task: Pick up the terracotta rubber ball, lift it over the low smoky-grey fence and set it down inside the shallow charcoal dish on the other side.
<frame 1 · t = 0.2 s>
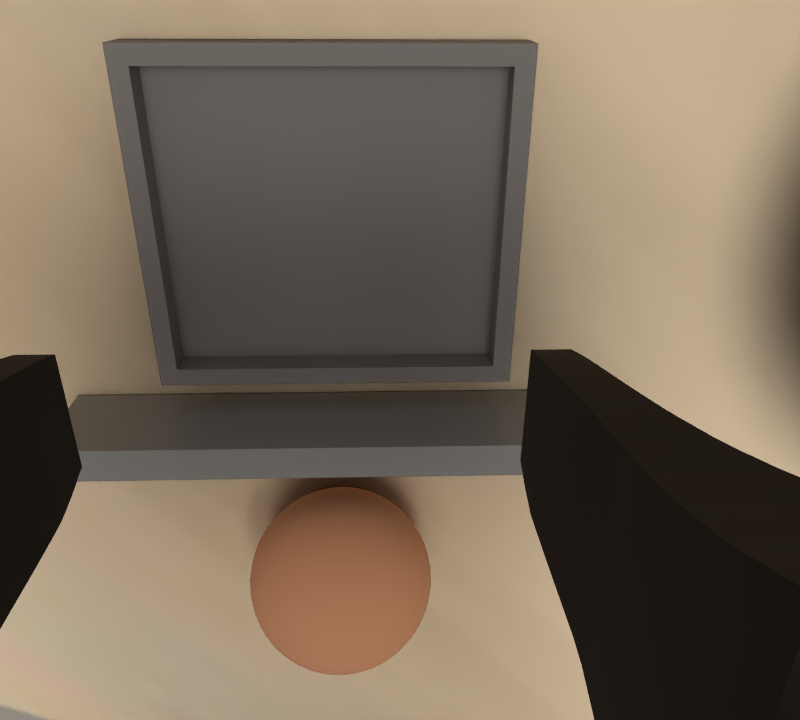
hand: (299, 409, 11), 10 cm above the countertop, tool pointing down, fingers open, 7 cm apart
charcoal dish: (332, 218, 20), on the countertop
ball: (341, 577, 22), point 3 cm above the countertop
low fence: (340, 406, 22), on the countertop
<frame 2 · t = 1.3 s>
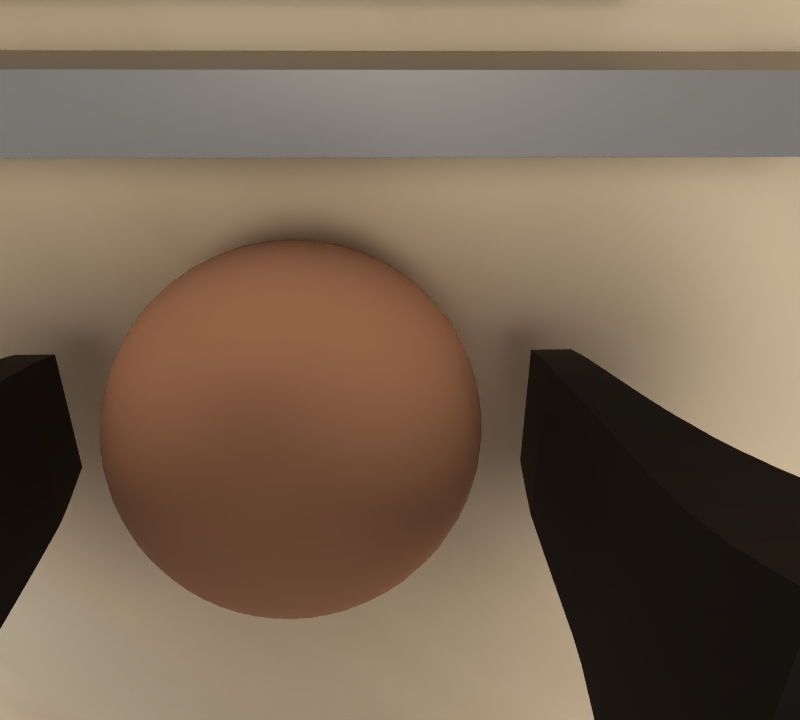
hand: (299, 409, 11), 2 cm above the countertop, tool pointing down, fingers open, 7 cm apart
ball: (297, 424, 11), point 3 cm above the countertop
low fence: (297, 85, 11), on the countertop
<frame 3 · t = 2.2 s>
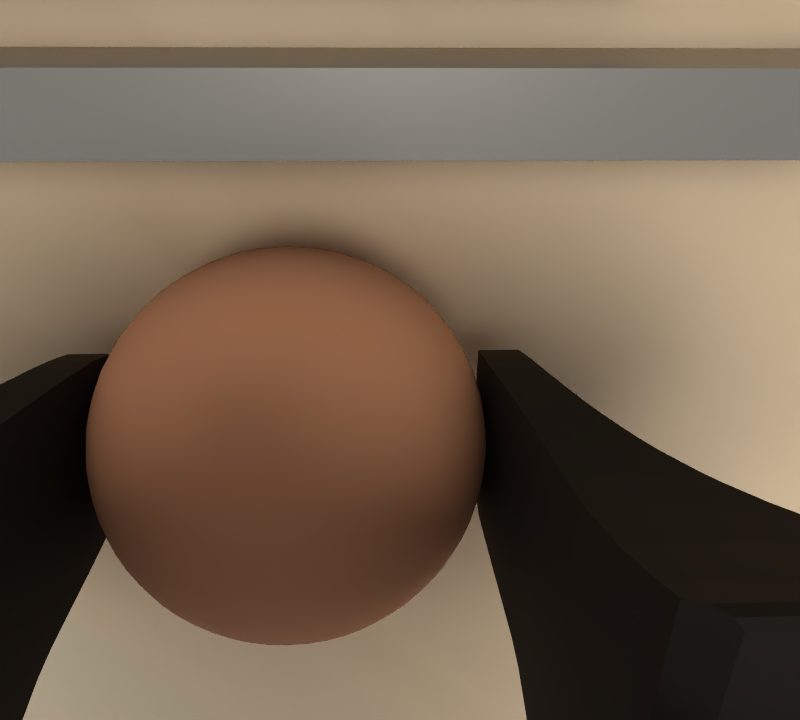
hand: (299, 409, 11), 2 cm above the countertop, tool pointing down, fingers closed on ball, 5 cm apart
ball: (293, 439, 10), point 3 cm above the countertop, touching gripper
low fence: (293, 84, 11), on the countertop
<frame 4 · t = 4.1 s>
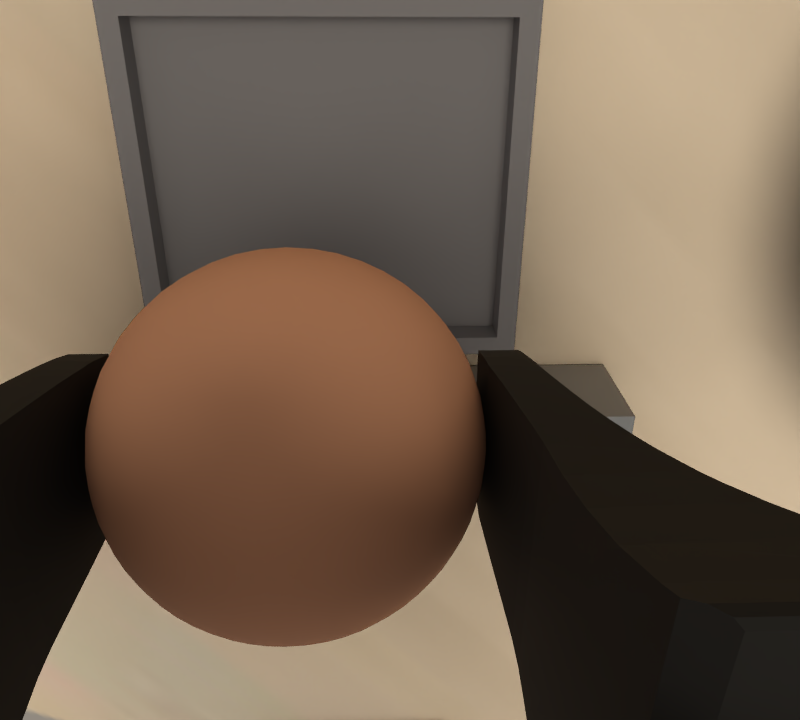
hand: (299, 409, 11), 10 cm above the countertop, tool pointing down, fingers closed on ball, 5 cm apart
charcoal dish: (330, 182, 19), on the countertop
ball: (293, 440, 10), point 10 cm above the countertop, touching gripper
low fence: (338, 381, 22), on the countertop
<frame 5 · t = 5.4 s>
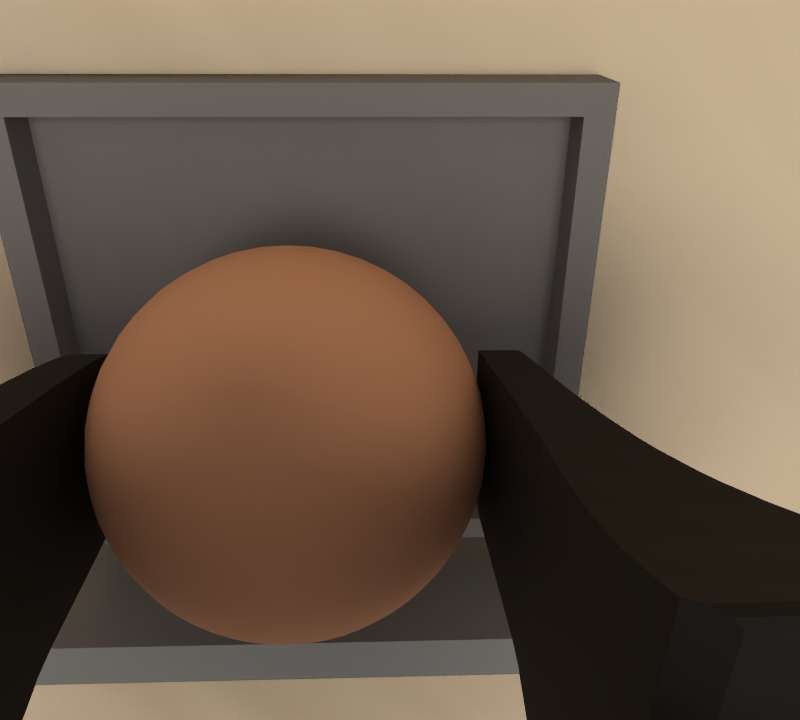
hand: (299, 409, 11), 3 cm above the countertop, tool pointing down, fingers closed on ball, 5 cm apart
charcoal dish: (315, 320, 14), on the countertop
ball: (293, 439, 10), point 4 cm above the countertop, touching gripper
low fence: (328, 554, 17), on the countertop
when the fingers open (3 cm above the countertop, at t = 6.4 s): ball moves 1 cm, resting on charcoal dish.
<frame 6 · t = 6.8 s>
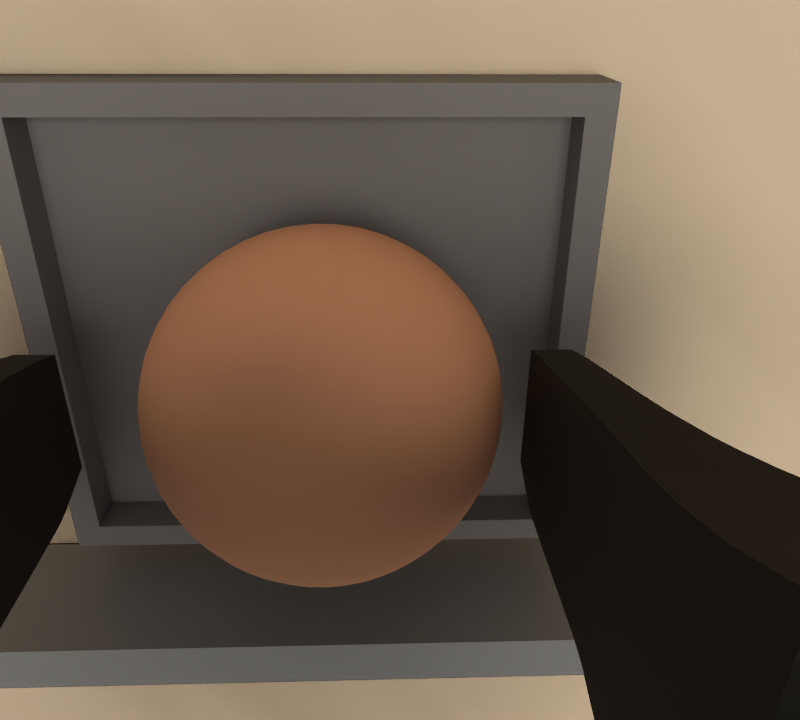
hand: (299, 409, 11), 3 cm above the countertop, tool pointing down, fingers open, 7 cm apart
charcoal dish: (315, 321, 14), on the countertop
ball: (324, 402, 11), point 3 cm above the countertop, tilted 9°, touching charcoal dish
low fence: (328, 556, 17), on the countertop
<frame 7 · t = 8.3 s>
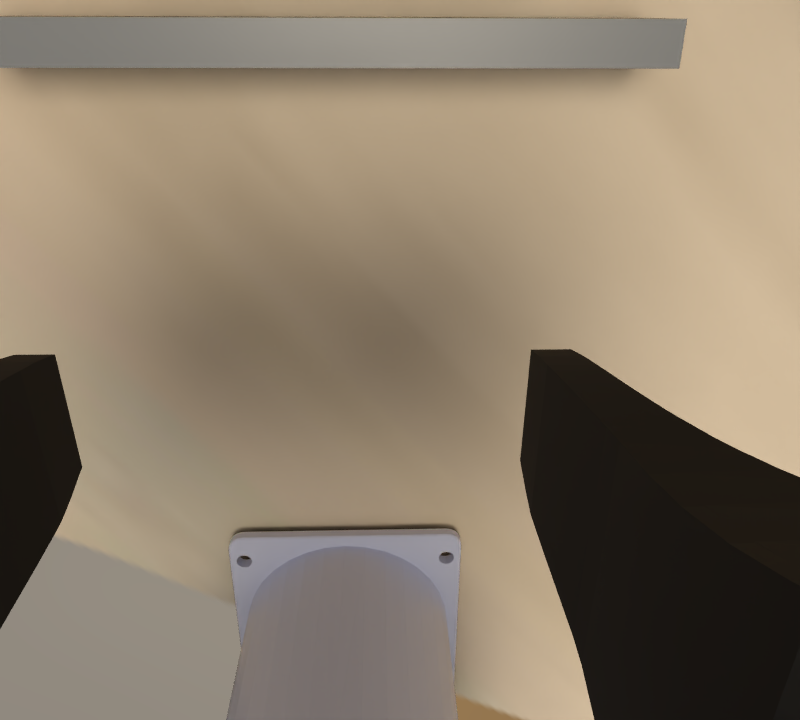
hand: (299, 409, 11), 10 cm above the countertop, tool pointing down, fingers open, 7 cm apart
low fence: (327, 38, 18), on the countertop
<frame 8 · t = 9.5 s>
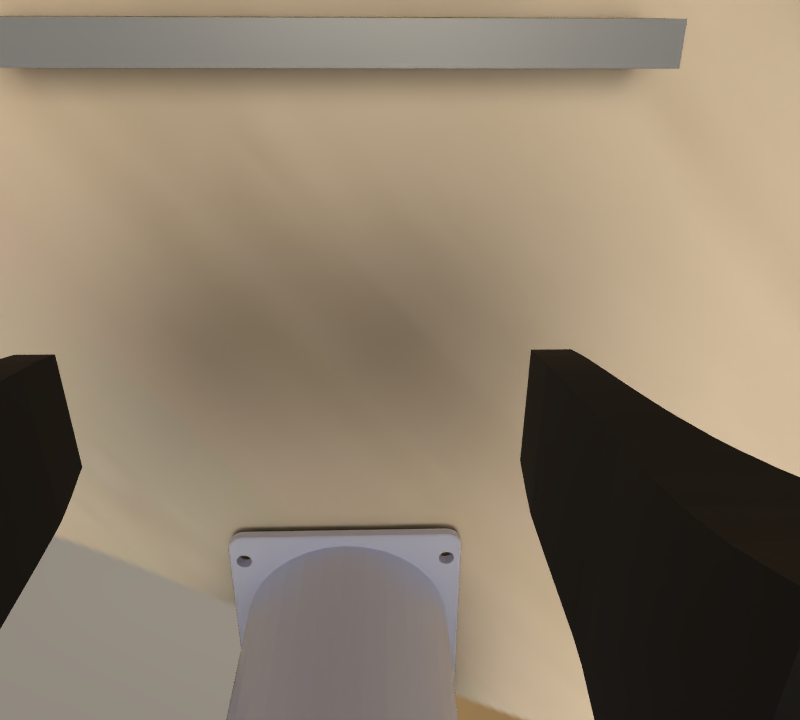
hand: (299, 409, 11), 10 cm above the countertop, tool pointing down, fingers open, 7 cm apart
low fence: (327, 38, 18), on the countertop
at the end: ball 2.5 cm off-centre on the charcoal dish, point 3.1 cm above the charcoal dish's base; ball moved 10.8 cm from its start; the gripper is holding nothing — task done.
